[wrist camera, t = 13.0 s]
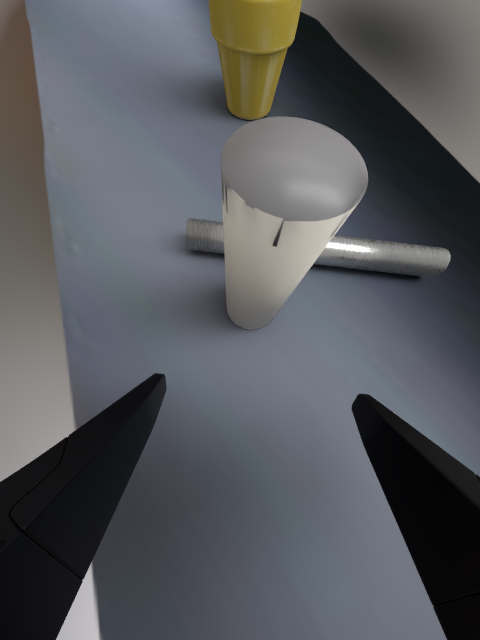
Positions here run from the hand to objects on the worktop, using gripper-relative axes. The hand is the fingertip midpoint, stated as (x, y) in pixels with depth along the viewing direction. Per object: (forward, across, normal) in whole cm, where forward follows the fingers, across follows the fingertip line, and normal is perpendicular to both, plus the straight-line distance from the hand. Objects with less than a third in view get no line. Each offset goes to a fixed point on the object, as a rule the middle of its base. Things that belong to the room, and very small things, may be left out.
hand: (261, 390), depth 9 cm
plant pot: (+35, +3, -23) cm, 42 cm away
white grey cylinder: (+11, 0, 0) cm, 11 cm away
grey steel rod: (+16, -6, -4) cm, 17 cm away
